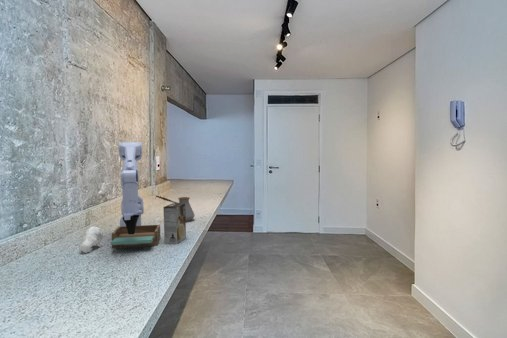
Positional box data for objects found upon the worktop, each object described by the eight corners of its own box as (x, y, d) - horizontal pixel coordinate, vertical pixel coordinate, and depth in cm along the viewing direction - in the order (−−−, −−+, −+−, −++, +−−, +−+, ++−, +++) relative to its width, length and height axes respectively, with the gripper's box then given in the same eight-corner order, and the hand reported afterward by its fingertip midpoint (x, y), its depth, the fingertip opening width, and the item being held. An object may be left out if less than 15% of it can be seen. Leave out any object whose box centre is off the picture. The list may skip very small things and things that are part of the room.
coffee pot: (193, 217, 186) (193, 192, 185) (195, 222, 176) (195, 195, 174) (155, 220, 180) (154, 194, 179) (155, 224, 169) (154, 197, 168)
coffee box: (173, 237, 146) (172, 202, 145) (186, 238, 145) (185, 203, 143) (163, 243, 137) (163, 206, 136) (177, 244, 136) (176, 207, 134)
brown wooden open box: (118, 239, 142) (118, 226, 142) (160, 237, 146) (160, 224, 145) (112, 248, 131) (111, 233, 130) (157, 245, 134) (157, 231, 133)
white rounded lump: (103, 224, 134) (90, 235, 122) (104, 243, 136) (92, 256, 124) (87, 225, 134) (73, 235, 122) (89, 244, 135) (75, 256, 123)
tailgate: (115, 238, 130) (110, 241, 124) (153, 236, 133) (151, 239, 126) (115, 242, 130) (110, 246, 124) (153, 240, 133) (151, 244, 126)
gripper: (137, 202, 118) (138, 238, 119) (144, 196, 133) (144, 228, 134) (117, 203, 117) (119, 239, 118) (126, 197, 131) (127, 229, 132)
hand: (131, 233), depth 126 cm, fingers closed
